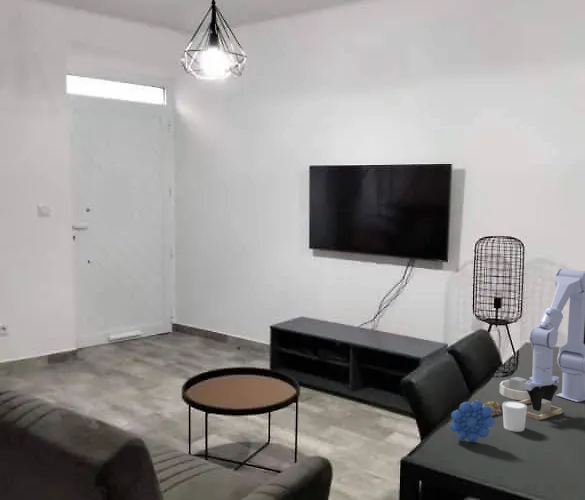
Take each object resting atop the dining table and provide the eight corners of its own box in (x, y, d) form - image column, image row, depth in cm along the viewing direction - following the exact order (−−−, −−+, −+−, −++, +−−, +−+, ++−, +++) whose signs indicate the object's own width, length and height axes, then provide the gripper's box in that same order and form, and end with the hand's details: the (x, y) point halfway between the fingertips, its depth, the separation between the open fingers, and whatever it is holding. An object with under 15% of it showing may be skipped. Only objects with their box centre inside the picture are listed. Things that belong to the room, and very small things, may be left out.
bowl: (517, 385, 213) (517, 377, 213) (552, 396, 201) (552, 387, 201) (491, 392, 206) (491, 383, 206) (526, 403, 194) (526, 394, 194)
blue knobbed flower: (494, 439, 165) (495, 397, 164) (493, 448, 158) (494, 405, 158) (451, 433, 169) (452, 392, 168) (448, 442, 162) (449, 400, 162)
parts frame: (529, 401, 196) (529, 398, 196) (562, 412, 185) (563, 409, 185) (505, 408, 189) (505, 404, 189) (538, 420, 179) (538, 416, 179)
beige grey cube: (539, 410, 188) (539, 397, 188) (550, 413, 185) (551, 401, 184) (531, 412, 186) (531, 400, 186) (542, 416, 183) (543, 403, 182)
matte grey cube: (516, 387, 209) (516, 376, 208) (526, 390, 205) (526, 379, 205) (509, 389, 207) (509, 378, 206) (519, 392, 203) (519, 381, 203)
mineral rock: (480, 398, 193) (504, 396, 188) (484, 411, 193) (508, 410, 188) (468, 408, 185) (492, 406, 180) (471, 422, 184) (496, 421, 179)
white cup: (526, 425, 175) (526, 402, 175) (527, 433, 169) (527, 409, 168) (501, 422, 177) (502, 399, 177) (501, 430, 171) (502, 407, 170)
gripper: (545, 360, 191) (544, 400, 192) (516, 366, 184) (515, 409, 185) (565, 365, 185) (564, 407, 186) (536, 372, 178) (534, 416, 179)
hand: (541, 408), depth 185 cm, fingers closed on beige grey cube, 4 cm apart
